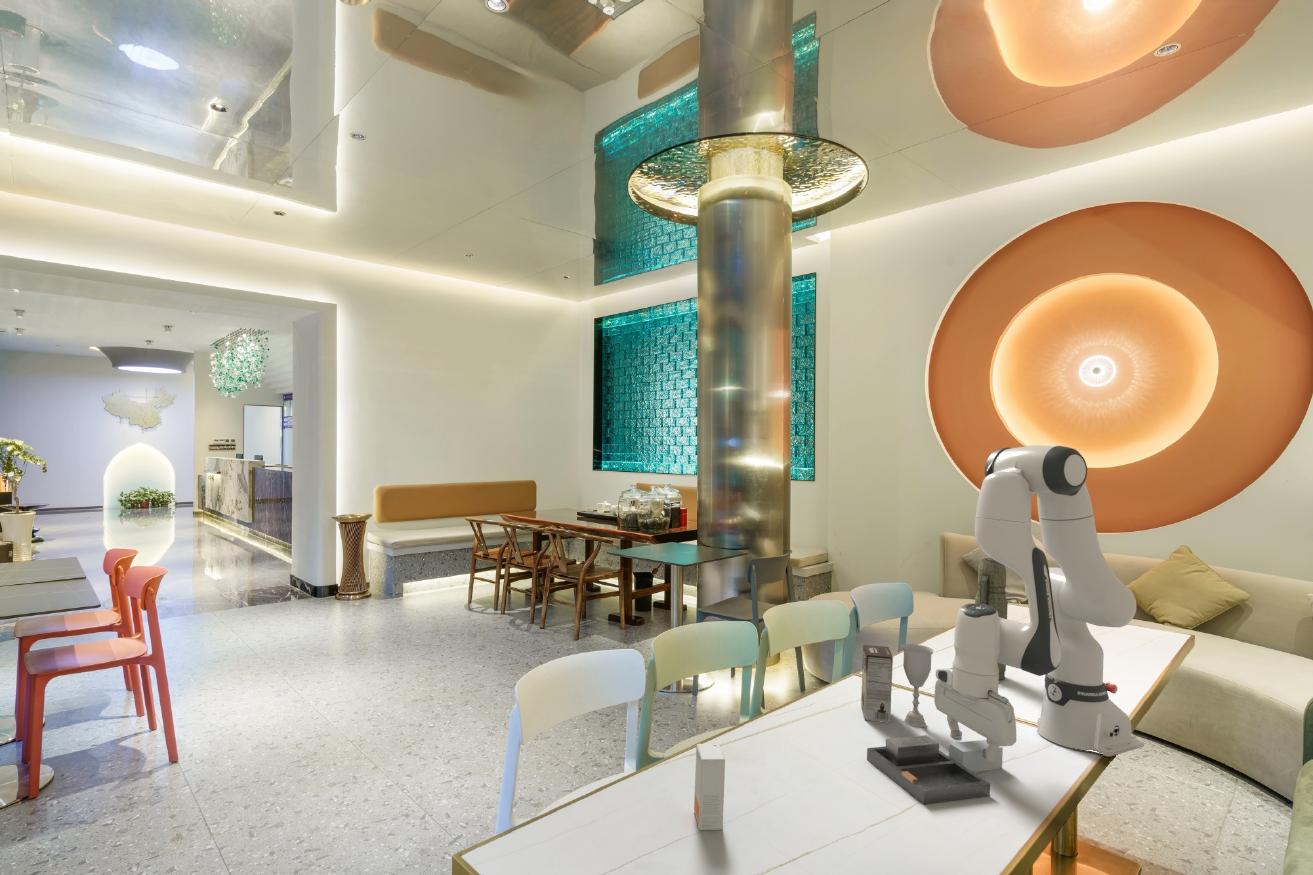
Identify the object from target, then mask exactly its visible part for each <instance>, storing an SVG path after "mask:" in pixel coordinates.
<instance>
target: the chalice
mask: <svg viewBox="0 0 1313 875" xmlns="http://www.w3.org/2000/svg"><path fill="white" fill-rule="evenodd" d="M901 647H902V648H901V649H902V650H903V660H902V661H903V662H902V663H903V670H904V673H905V675H906V679H907V680H908V682H909V685H910V686H912V687H913V692H912V696H913V700H912V701H911V703H912V706H913V707H912V709H911V710H910V711H908V712H907V713H906V716H905V718H904V720H903V722H904V723H905V724H906V725H909V726H912V727H915V728H916V727H917V728H923V727H926V726H927V724H926V721H925V718H924V715H923V714H922V712H920V710H919V709H918V707H919V705H920V702H919V697H920V694H919V690H920V688H922V687H924V685H925V683H926V681H927V680H928V679H929V676H930V673H931V670H932V654H933V653H934V651H935V650H934V649H933V648H932V647H929V646H925V645H923V644H922V645H921V644H916V643H915V644H914V643H906V644H902V645H901Z"/></svg>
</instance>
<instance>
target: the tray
mask: <svg viewBox="0 0 1313 875" xmlns="http://www.w3.org/2000/svg"><path fill="white" fill-rule="evenodd" d="M866 748H867V749H866V760H867V761H868V762H869V763H871V764H872V765H873V766H874V767H875V768H877V769H878V770H879V771H881V772H882V773H883V774H884V775H886V776H887V777H888V778H889V779H891V780H892V781H893V782H894V783H896V784H897V785H898V786H900V787H901V788H902V789H903V790H905V791H906V792H907V793H908V794H910V796H912V797H914V798H915V799H916V800H917V801H918V802H920V803H921V804H922V805H928V804H929V805H930V804H931V805H932V804H937V803H938V804H939V803H946V802H954V801H960V800H963V801H964V800H969V799H970V800H971V799H977V798H978V799H979V798H986V797H990V796H991V783H990V782H989V781H987V780H986V779H984V778H982V777H981V776H980V775H978V774H976V773H975V772H972V771H970V770H969V769H967V768H966V767H964V766H963V765H961V764H960V763H958V762H957V761H955V760H953V759H952V758H950V757H949V755H947V754H945V753H944V752H943V751H941V749H940V743H939V742H938V741H937V740H935V739H933V738H931V737H930V736H928V735H927V734H925V735H917V736H915V735H914V736H905V737H904V736H903V737H893V738H885V746H875V747H866Z"/></svg>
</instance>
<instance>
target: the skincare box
mask: <svg viewBox="0 0 1313 875" xmlns="http://www.w3.org/2000/svg"><path fill="white" fill-rule="evenodd" d="M695 754H696V755H695V774H694V775H695V778H694V800H693V801H694V802H693V803H694V804H693V805H694V806H693V811H694V815H695V818H696V819H695V820H696V822H697V823H696V824H697V826H698V830H699V831H722V830H723V828H724V827H723V826H724V801H725V800H724V798H725V778H726V777H725V774H726V773H725V771H726V770H725V768H726V759H725V756H724V752H723V750H722V748H721V745H720V744H719V743H697V744H696V751H695Z"/></svg>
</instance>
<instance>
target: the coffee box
mask: <svg viewBox="0 0 1313 875" xmlns="http://www.w3.org/2000/svg"><path fill="white" fill-rule="evenodd" d="M893 660H894V657H893V655H892V652H891V649H890V647H889V646H882V645H871V644H870V645H869V644H862V667H861V668H862V670H861V673H862V675H861V698H860V699H861V700H860V702H861V703H860V708H861V711H862V715H863V719H866V720H865V721H868V720H870V721H869V722H877V721H882V722H881V723H885V722H887V724H890V723H891V713H892V712H891V711H892V710H891V709H892V705H891V704H892V684H893V666H894V665H893V662H894V661H893Z"/></svg>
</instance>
